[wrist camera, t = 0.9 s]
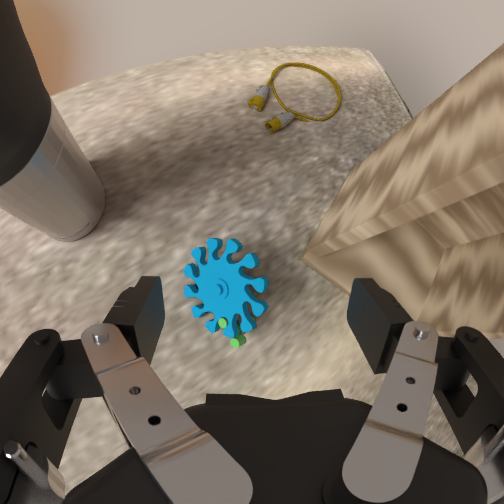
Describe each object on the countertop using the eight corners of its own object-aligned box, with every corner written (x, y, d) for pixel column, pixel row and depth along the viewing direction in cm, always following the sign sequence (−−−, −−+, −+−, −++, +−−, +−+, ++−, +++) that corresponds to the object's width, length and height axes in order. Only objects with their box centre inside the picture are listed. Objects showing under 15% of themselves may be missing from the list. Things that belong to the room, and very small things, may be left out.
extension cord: (231, 72, 40) (233, 64, 38) (321, 65, 43) (325, 57, 41) (259, 138, 38) (263, 130, 36) (354, 123, 42) (360, 116, 40)
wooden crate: (409, 340, 37) (633, 345, 6) (298, 259, 36) (584, 124, 5) (446, 248, 41) (626, 191, 10) (354, 165, 40) (531, 14, 9)
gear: (171, 246, 32) (251, 228, 27) (207, 242, 37) (281, 226, 32) (191, 347, 32) (272, 351, 27) (223, 331, 37) (298, 331, 32)
